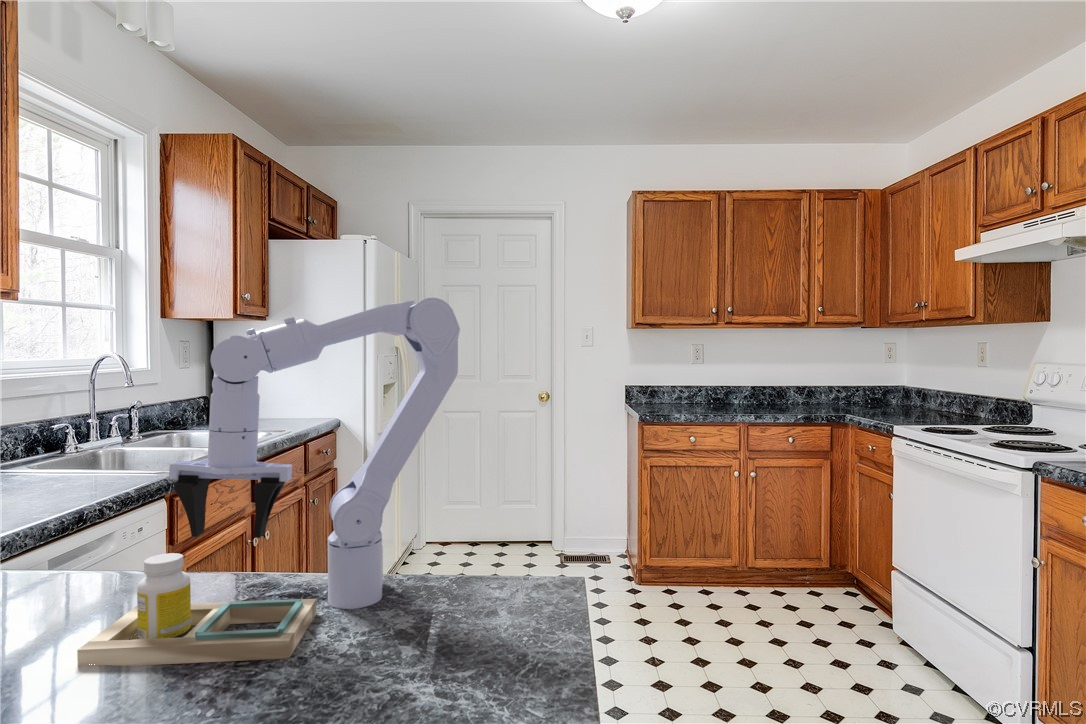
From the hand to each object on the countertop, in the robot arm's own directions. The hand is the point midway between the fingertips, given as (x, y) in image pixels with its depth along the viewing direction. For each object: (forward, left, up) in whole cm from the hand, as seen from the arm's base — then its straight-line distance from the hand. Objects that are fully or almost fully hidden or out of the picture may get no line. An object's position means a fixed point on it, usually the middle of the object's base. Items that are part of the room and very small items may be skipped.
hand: (228, 535), depth 82 cm
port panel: (+7, 0, -10) cm, 12 cm away
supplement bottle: (+7, -5, -11) cm, 13 cm away
